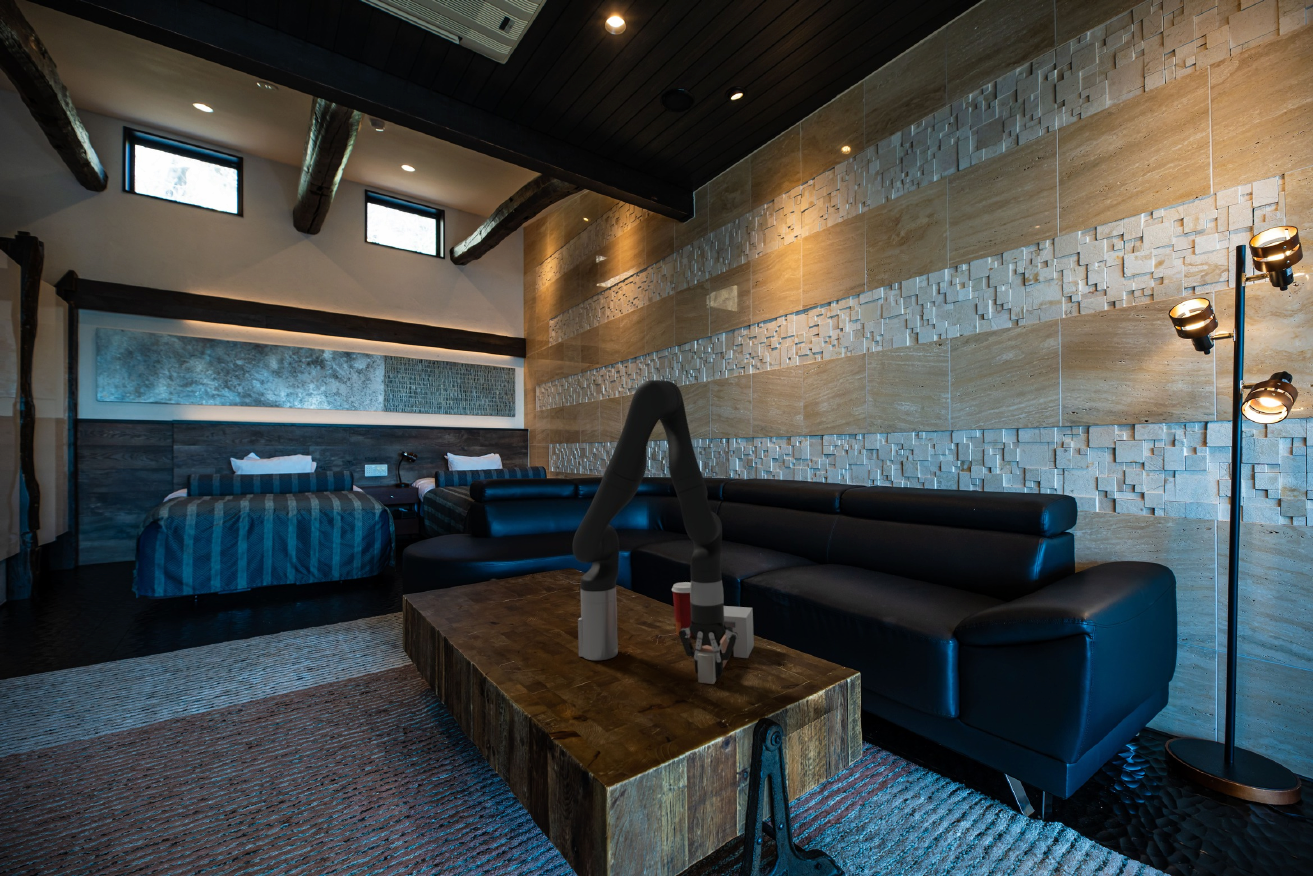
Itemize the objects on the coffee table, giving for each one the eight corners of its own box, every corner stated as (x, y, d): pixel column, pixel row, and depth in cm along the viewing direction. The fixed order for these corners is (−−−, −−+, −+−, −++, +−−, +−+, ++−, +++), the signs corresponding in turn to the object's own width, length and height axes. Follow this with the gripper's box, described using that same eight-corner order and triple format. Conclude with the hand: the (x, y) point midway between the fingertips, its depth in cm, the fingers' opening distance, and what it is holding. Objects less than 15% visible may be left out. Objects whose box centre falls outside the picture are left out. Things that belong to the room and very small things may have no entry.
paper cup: (704, 632, 155) (703, 583, 156) (691, 640, 149) (690, 589, 149) (681, 628, 160) (679, 580, 160) (667, 636, 153) (666, 586, 154)
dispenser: (700, 654, 138) (699, 614, 139) (709, 642, 147) (708, 604, 148) (747, 659, 134) (745, 618, 135) (753, 646, 143) (752, 607, 144)
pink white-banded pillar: (698, 682, 121) (697, 654, 121) (715, 656, 136) (715, 631, 136) (713, 684, 119) (712, 656, 120) (729, 657, 135) (728, 633, 135)
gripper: (672, 602, 122) (674, 679, 122) (734, 606, 117) (736, 686, 117) (682, 594, 129) (684, 667, 129) (740, 597, 125) (743, 673, 124)
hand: (709, 676), depth 123 cm, fingers closed on pink white-banded pillar, 3 cm apart
